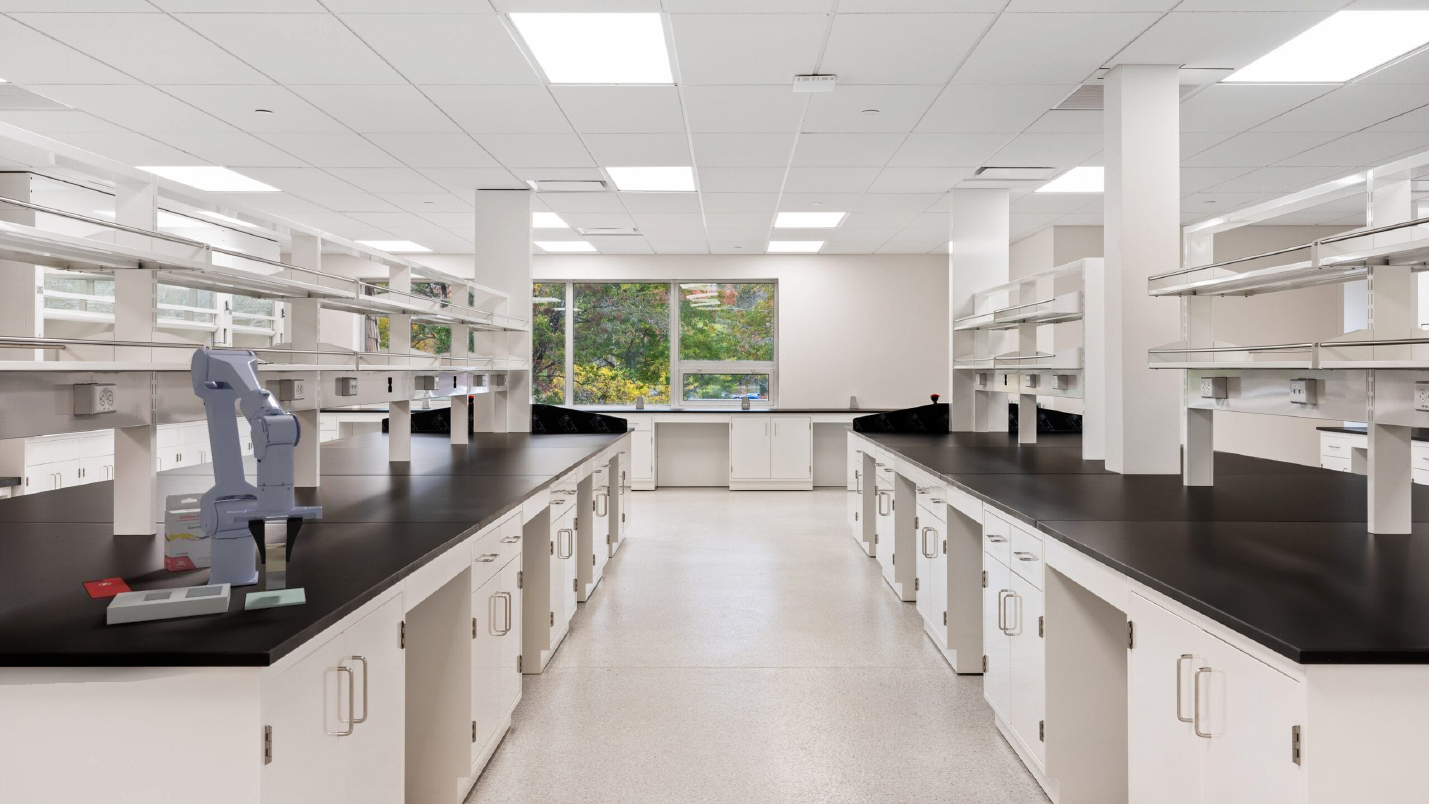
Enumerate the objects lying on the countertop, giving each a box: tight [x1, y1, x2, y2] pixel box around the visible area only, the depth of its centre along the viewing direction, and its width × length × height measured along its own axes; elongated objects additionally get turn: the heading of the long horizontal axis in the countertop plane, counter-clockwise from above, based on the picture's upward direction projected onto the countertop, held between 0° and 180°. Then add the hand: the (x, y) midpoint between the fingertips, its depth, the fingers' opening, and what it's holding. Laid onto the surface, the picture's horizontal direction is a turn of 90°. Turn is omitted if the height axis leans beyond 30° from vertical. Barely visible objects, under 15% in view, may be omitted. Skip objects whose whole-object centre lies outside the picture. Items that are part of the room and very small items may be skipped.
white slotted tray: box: [106, 583, 231, 625], centre depth 134 cm, size 10×16×3 cm, turn 118°
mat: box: [244, 587, 306, 611], centre depth 141 cm, size 10×9×1 cm
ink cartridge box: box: [163, 492, 211, 572], centre depth 165 cm, size 9×5×15 cm, turn 137°
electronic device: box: [82, 577, 133, 600], centre depth 148 cm, size 6×1×15 cm
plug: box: [265, 542, 287, 591], centre depth 141 cm, size 4×3×7 cm, turn 28°
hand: (275, 562), depth 141 cm, fingers closed on plug, 3 cm apart
